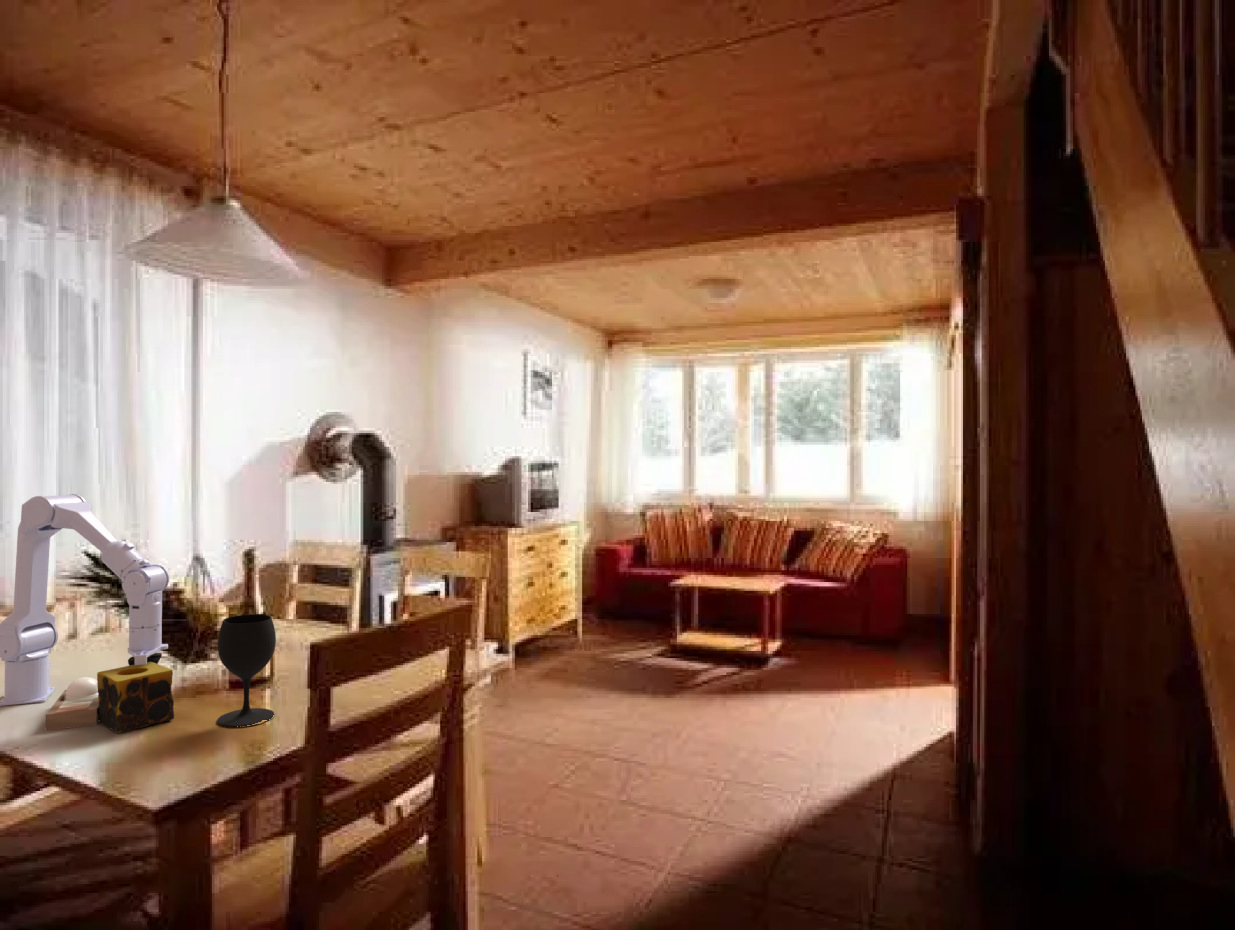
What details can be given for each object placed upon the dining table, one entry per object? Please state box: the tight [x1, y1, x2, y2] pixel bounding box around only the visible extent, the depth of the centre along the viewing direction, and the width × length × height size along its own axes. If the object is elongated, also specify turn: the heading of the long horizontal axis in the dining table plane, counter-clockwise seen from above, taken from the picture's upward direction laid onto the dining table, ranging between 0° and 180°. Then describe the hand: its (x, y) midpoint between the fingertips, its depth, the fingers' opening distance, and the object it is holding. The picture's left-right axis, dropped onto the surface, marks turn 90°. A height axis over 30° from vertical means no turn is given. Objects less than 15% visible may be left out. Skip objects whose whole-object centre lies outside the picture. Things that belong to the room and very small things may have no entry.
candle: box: [96, 662, 175, 734], centre depth 148 cm, size 10×10×10 cm
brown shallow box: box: [44, 689, 99, 731], centre depth 151 cm, size 16×8×3 cm, turn 26°
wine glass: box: [216, 613, 277, 728], centre depth 150 cm, size 10×10×20 cm
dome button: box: [65, 676, 98, 700], centre depth 154 cm, size 6×6×6 cm
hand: (144, 691), depth 156 cm, fingers closed
